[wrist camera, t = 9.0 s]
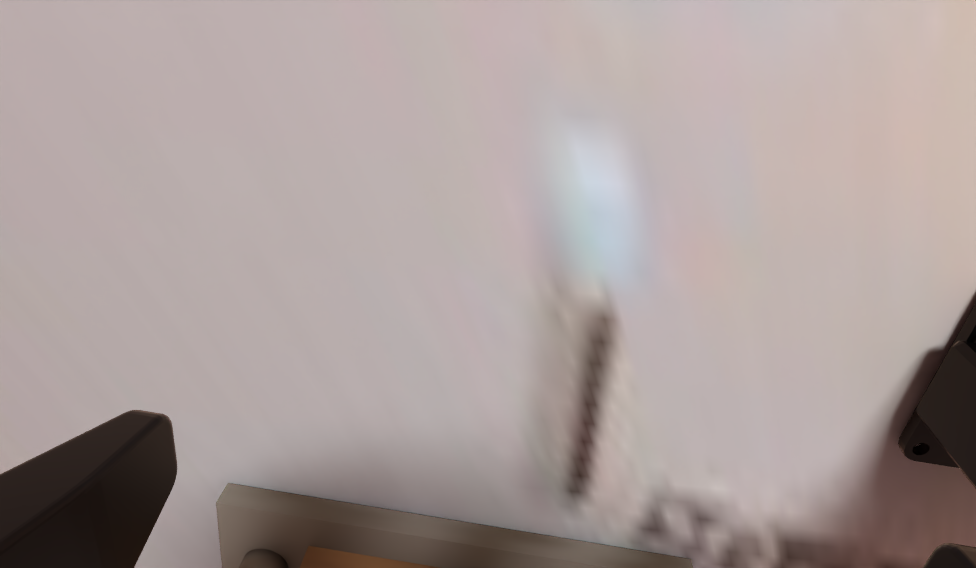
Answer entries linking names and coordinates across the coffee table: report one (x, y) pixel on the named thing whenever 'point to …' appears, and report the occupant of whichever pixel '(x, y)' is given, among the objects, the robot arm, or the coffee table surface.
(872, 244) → the coffee table surface
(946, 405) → the robot arm
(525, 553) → the stacked plates with bolts
